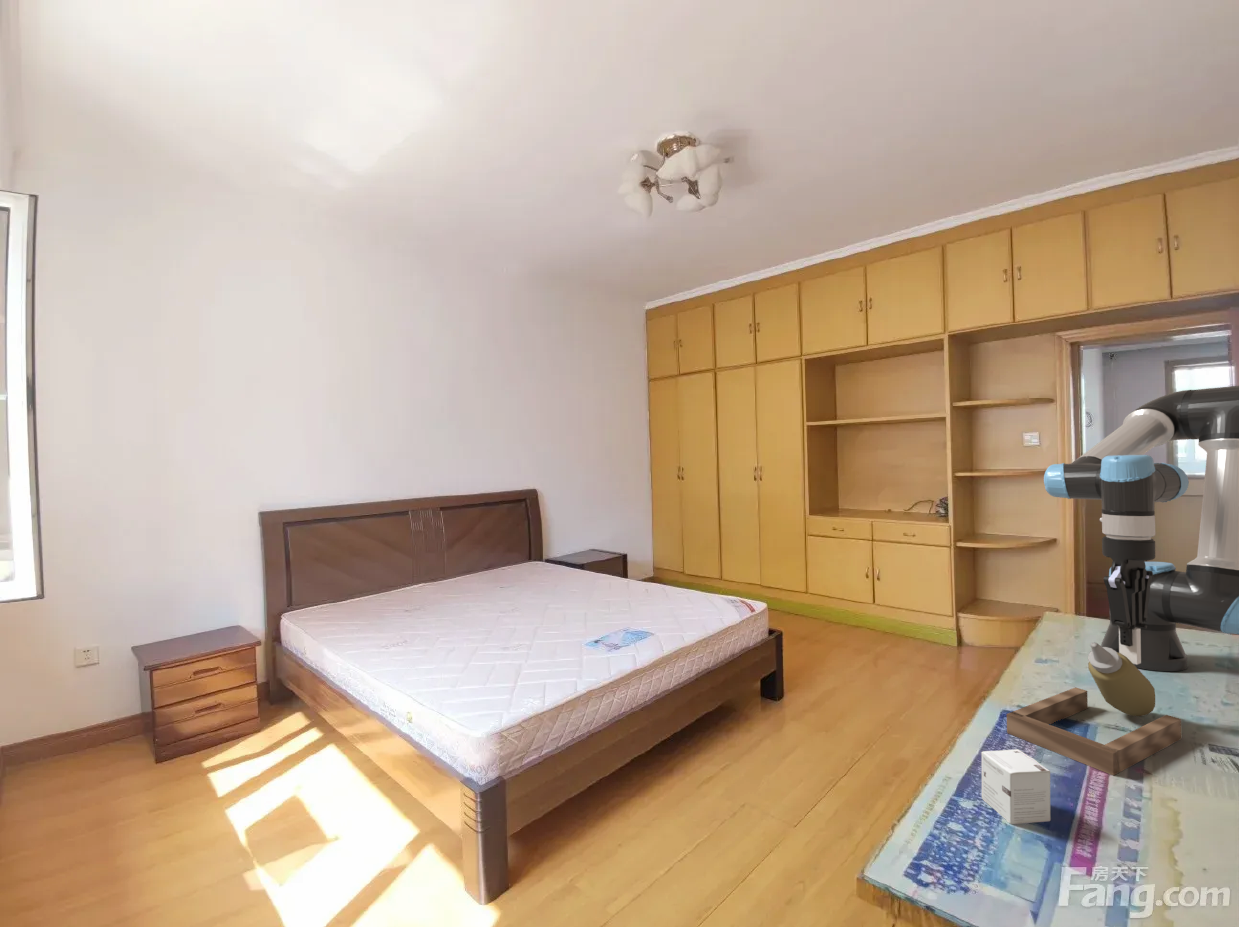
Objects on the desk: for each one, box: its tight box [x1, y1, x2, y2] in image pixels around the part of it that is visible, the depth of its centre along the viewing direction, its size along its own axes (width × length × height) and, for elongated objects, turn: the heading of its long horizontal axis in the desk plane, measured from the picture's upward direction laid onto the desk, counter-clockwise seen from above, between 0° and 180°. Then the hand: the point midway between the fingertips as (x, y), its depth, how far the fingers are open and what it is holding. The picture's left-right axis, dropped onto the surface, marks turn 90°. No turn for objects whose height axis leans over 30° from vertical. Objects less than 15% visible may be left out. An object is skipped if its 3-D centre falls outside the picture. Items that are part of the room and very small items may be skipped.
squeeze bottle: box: [1087, 641, 1156, 717], centre depth 107 cm, size 8×8×18 cm
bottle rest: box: [1006, 686, 1182, 776], centre depth 103 cm, size 23×16×4 cm
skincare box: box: [980, 748, 1051, 825], centre depth 83 cm, size 6×6×7 cm
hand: (1130, 661), depth 109 cm, fingers closed
